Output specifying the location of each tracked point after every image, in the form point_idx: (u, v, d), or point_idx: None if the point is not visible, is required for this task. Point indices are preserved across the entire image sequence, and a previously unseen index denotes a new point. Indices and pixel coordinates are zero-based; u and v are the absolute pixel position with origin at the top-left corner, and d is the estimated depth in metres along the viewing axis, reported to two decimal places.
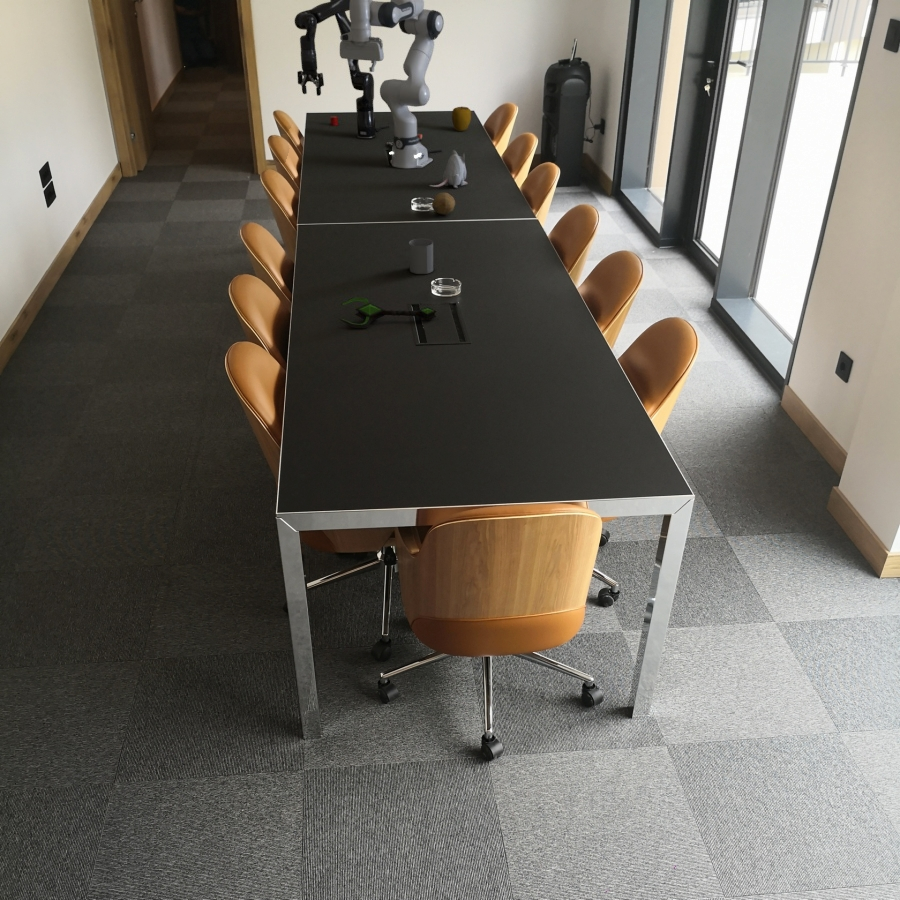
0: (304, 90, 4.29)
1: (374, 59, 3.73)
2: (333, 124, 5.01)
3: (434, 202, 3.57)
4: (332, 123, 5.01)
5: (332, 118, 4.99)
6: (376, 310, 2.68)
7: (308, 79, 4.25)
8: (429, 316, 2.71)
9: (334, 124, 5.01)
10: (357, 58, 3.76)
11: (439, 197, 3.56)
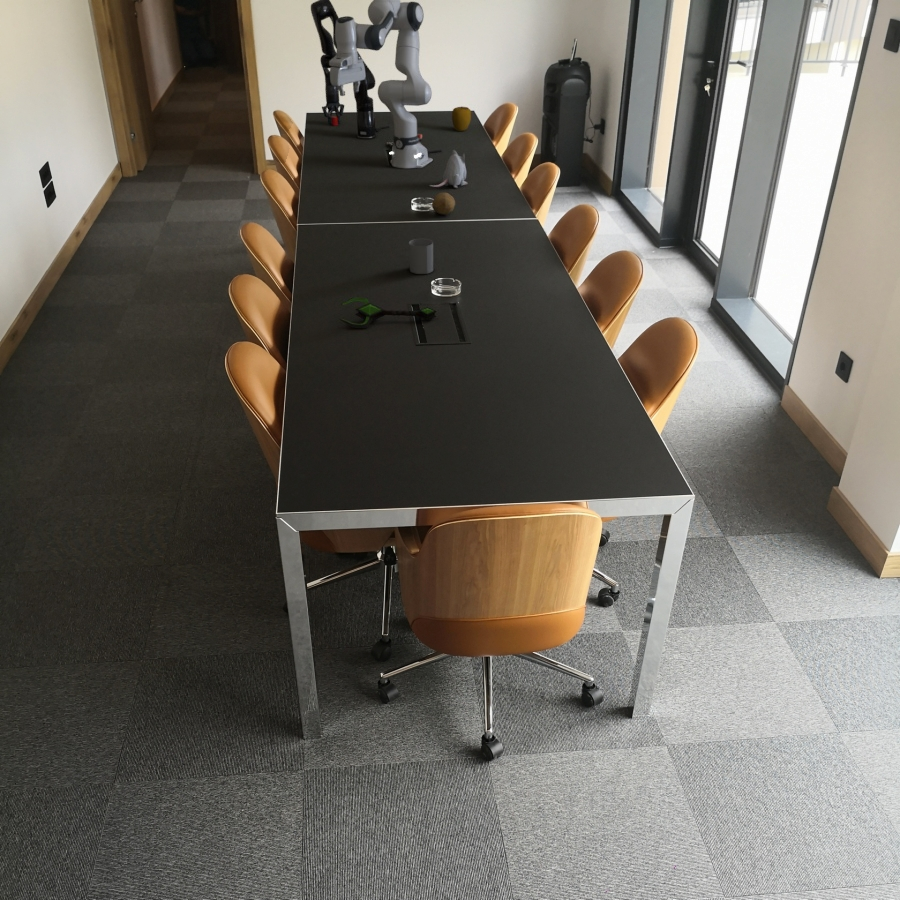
0: None
1: (362, 78, 3.78)
2: (333, 124, 5.01)
3: (434, 202, 3.57)
4: (332, 123, 5.01)
5: (332, 118, 4.99)
6: (376, 310, 2.68)
7: (333, 109, 4.97)
8: (429, 316, 2.71)
9: (334, 124, 5.01)
10: (350, 82, 3.73)
11: (439, 197, 3.56)
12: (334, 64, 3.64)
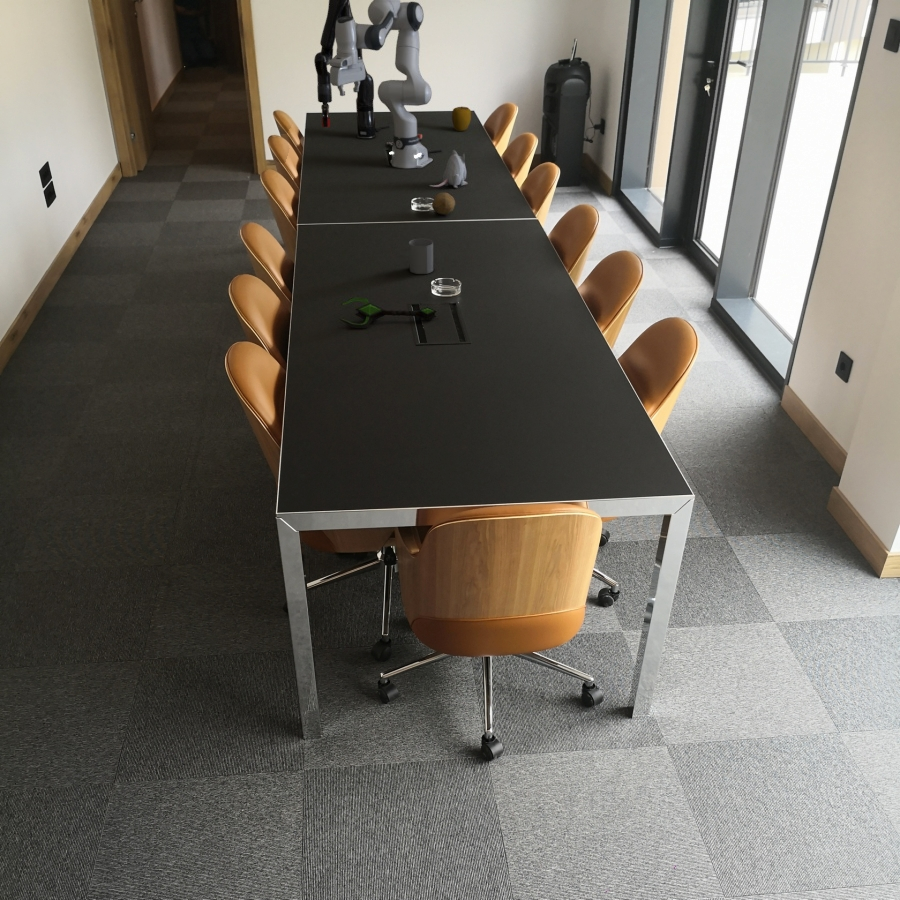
0: None
1: (362, 78, 3.78)
2: (328, 125, 4.72)
3: (434, 202, 3.57)
4: None
5: None
6: (376, 310, 2.68)
7: (327, 110, 4.69)
8: (429, 316, 2.71)
9: (329, 125, 4.72)
10: (350, 82, 3.73)
11: (439, 197, 3.56)
12: (334, 64, 3.64)
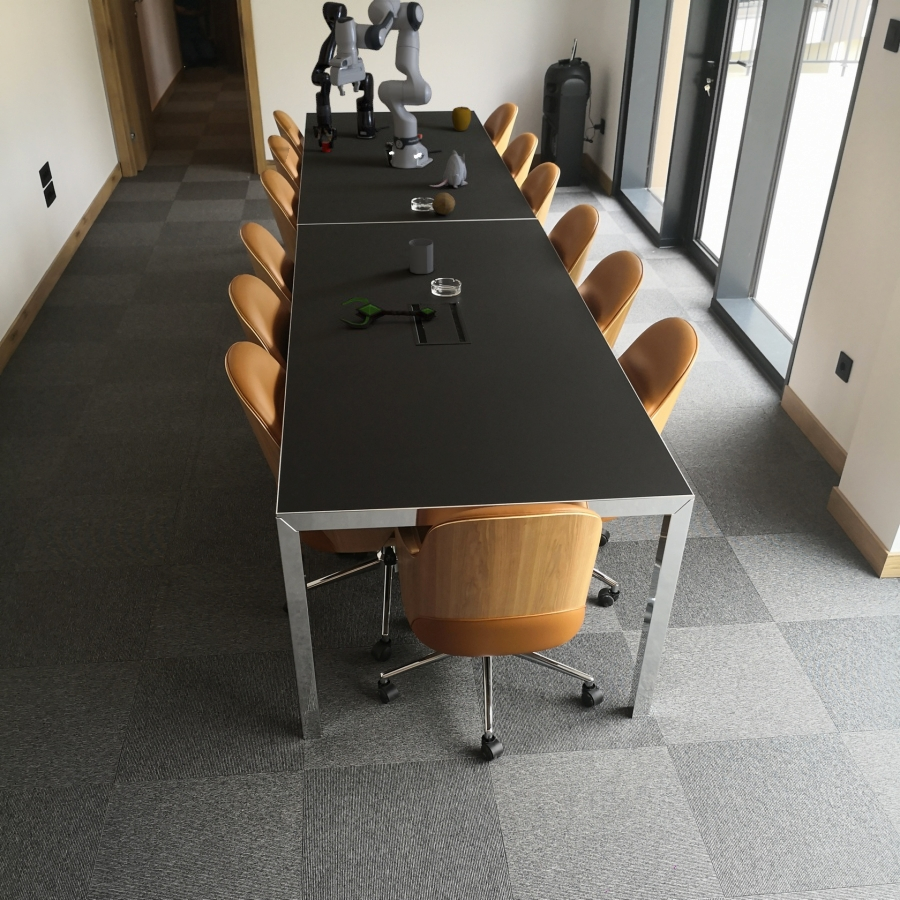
0: None
1: (362, 78, 3.78)
2: None
3: (434, 202, 3.57)
4: (330, 149, 4.50)
5: None
6: (376, 310, 2.68)
7: None
8: (429, 316, 2.71)
9: None
10: (350, 82, 3.73)
11: (439, 197, 3.56)
12: (334, 64, 3.64)
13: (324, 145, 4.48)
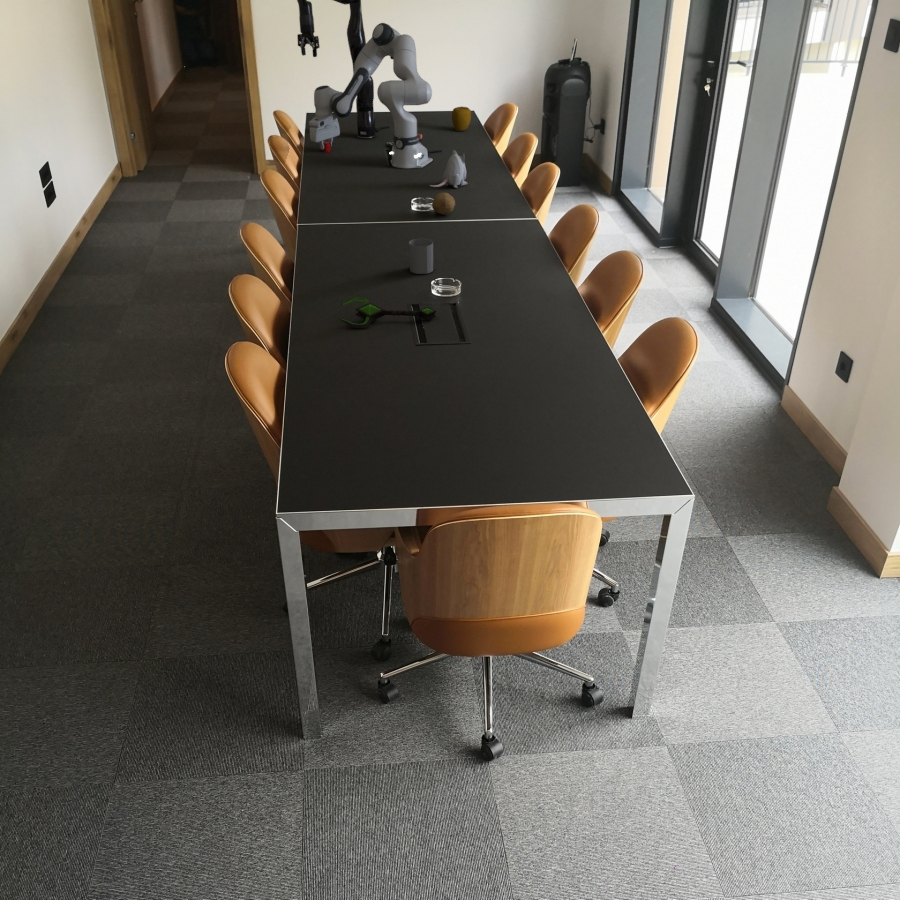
0: None
1: (337, 135, 4.52)
2: None
3: (434, 202, 3.57)
4: (330, 149, 4.50)
5: (329, 143, 4.49)
6: (376, 310, 2.68)
7: None
8: (429, 316, 2.71)
9: None
10: (326, 138, 4.46)
11: (439, 197, 3.56)
12: (313, 125, 4.37)
13: None
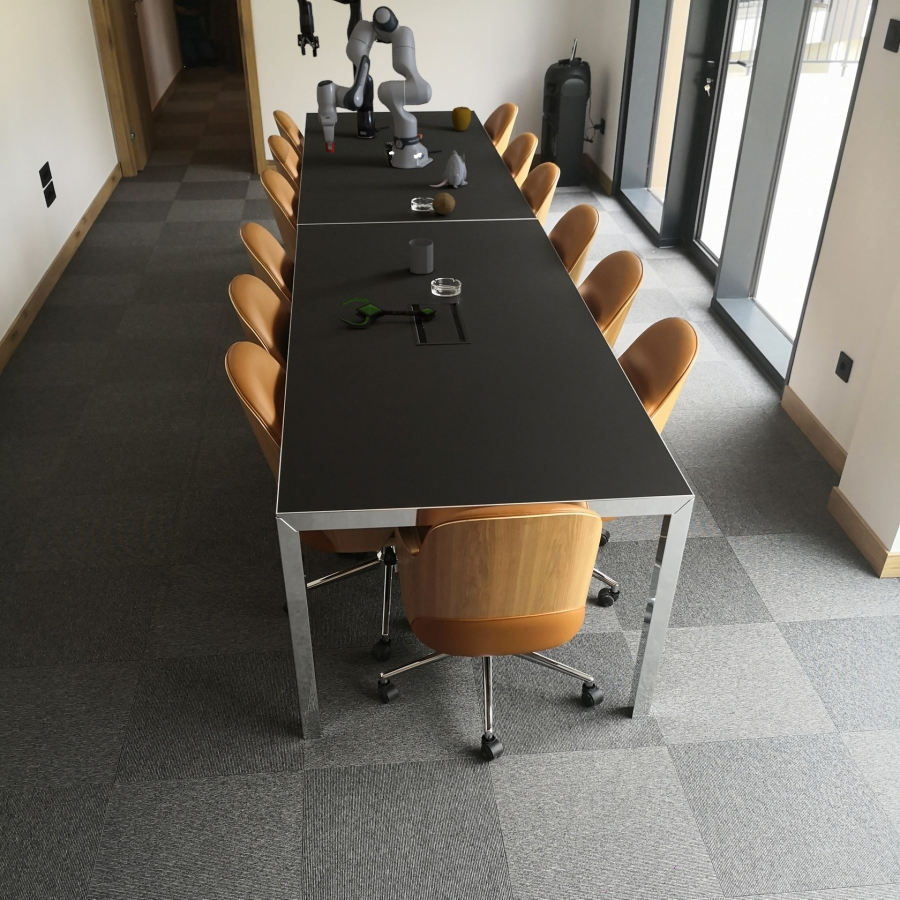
0: None
1: None
2: None
3: (434, 202, 3.57)
4: None
5: None
6: (376, 310, 2.68)
7: None
8: (429, 316, 2.71)
9: None
10: None
11: (439, 197, 3.56)
12: (328, 123, 4.04)
13: None
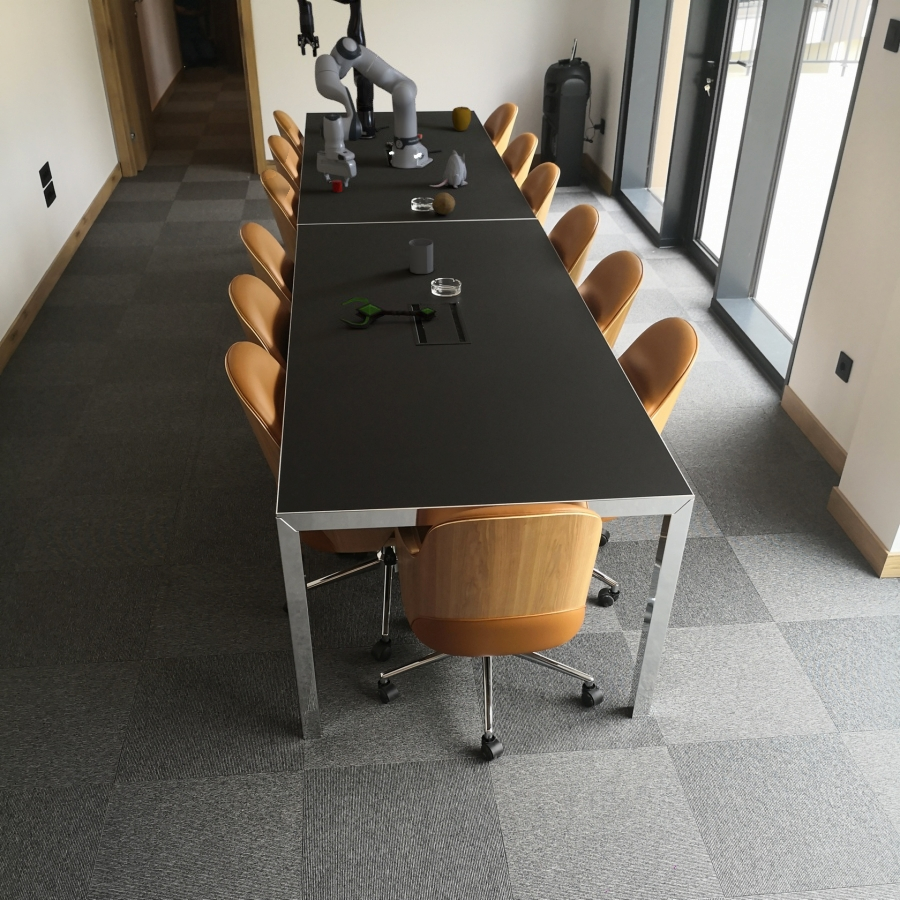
0: None
1: None
2: None
3: (434, 202, 3.57)
4: None
5: None
6: (376, 310, 2.68)
7: None
8: (429, 316, 2.71)
9: None
10: None
11: (439, 197, 3.56)
12: (350, 157, 3.78)
13: (341, 183, 3.88)
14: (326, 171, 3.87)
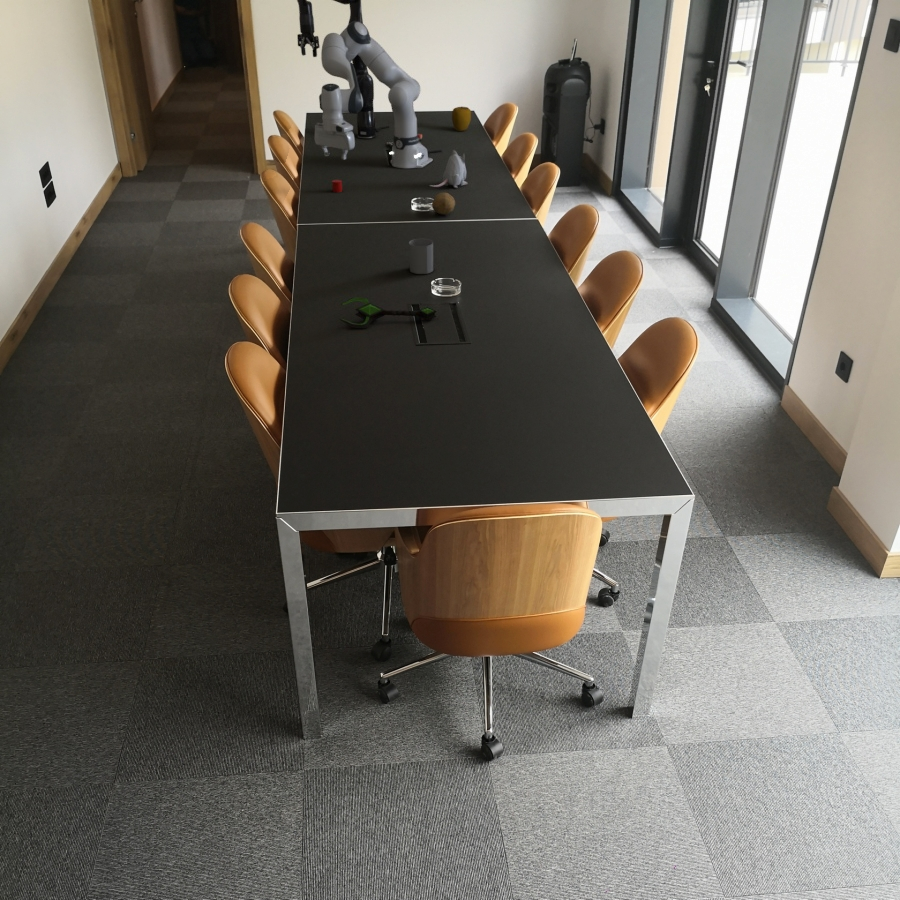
0: None
1: None
2: None
3: (434, 202, 3.57)
4: None
5: None
6: (376, 310, 2.68)
7: None
8: (429, 316, 2.71)
9: None
10: None
11: (439, 197, 3.56)
12: (349, 129, 3.72)
13: (341, 183, 3.88)
14: (324, 144, 3.80)
